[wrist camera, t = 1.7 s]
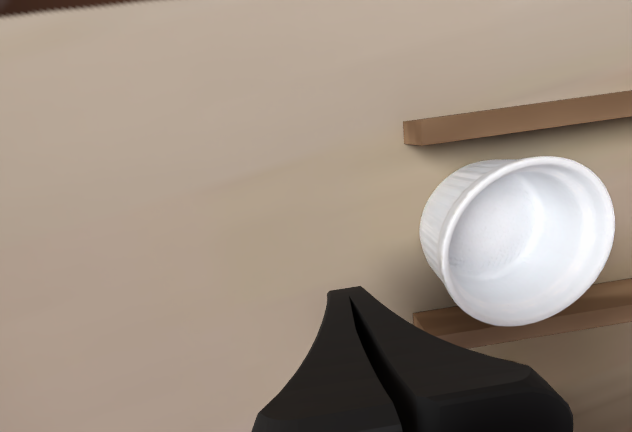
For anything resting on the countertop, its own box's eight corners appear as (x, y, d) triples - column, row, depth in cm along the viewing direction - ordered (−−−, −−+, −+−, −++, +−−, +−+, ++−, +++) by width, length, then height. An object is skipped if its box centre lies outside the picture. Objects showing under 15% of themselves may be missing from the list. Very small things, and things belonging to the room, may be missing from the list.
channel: (695, 283, 21) (747, 302, 19) (413, 328, 21) (430, 354, 18) (742, 75, 18) (813, 65, 15) (403, 121, 17) (421, 119, 15)
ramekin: (548, 137, 18) (625, 138, 14) (546, 272, 20) (612, 308, 16) (401, 167, 18) (434, 178, 14) (416, 300, 20) (448, 344, 16)
